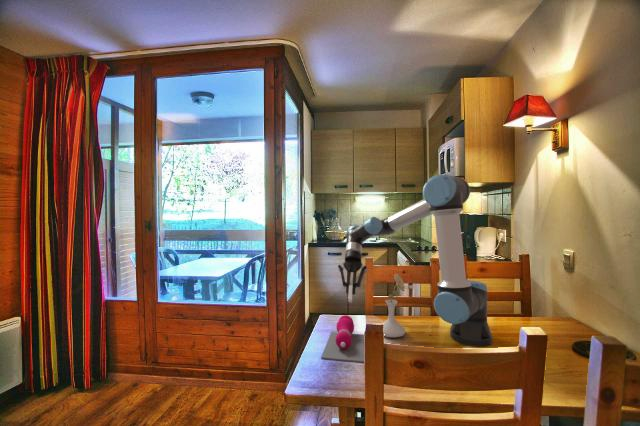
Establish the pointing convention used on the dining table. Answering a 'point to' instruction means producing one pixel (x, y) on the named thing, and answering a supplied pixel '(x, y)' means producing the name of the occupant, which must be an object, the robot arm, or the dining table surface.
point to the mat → (350, 354)
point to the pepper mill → (344, 332)
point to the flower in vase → (391, 324)
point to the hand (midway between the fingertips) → (350, 300)
